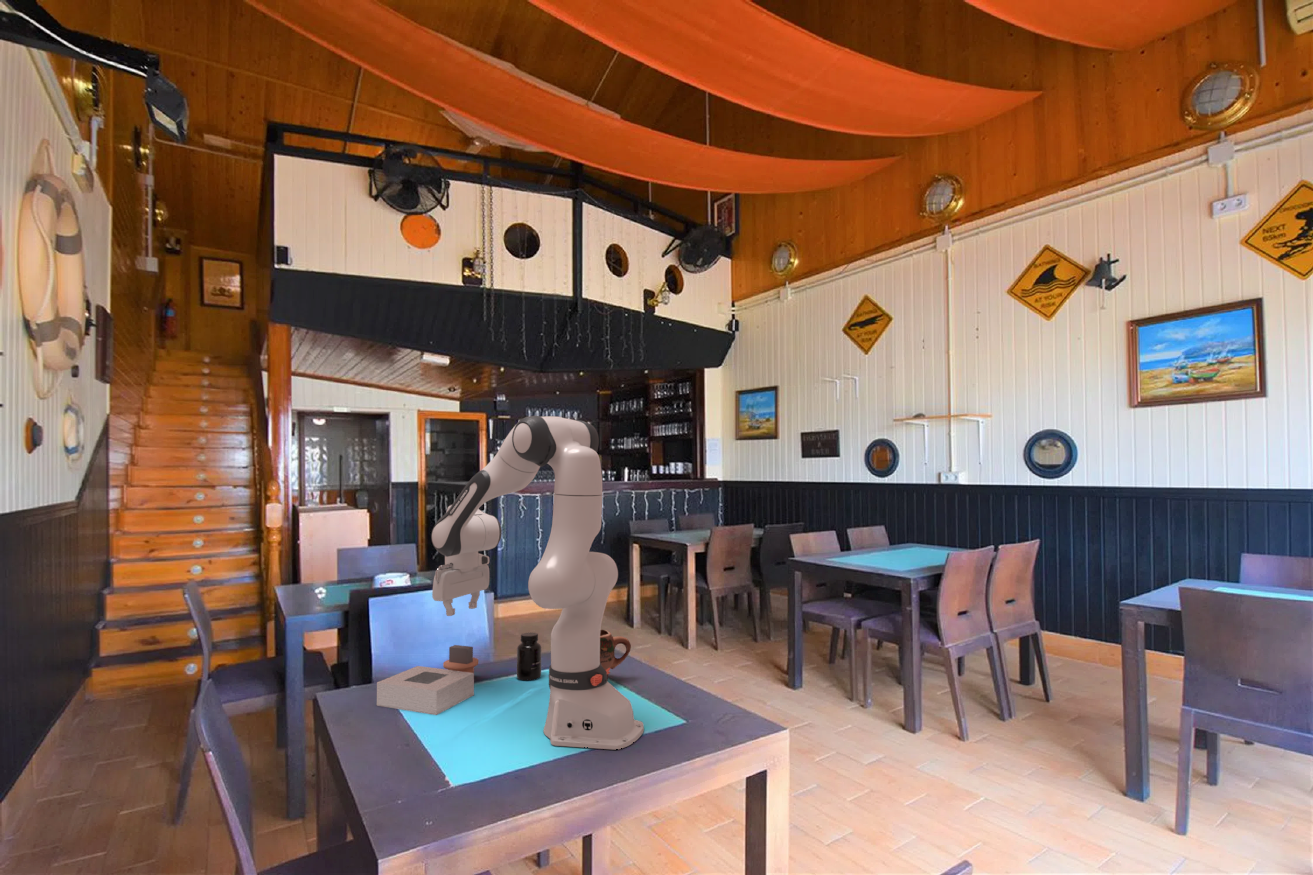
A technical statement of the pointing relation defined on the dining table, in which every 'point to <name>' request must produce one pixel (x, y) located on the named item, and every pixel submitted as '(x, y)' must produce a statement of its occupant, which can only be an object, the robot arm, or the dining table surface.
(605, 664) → the brown ceramic cup shape
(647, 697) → the dining table surface
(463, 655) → the end cover
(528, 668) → the supplement bottle
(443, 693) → the housing
